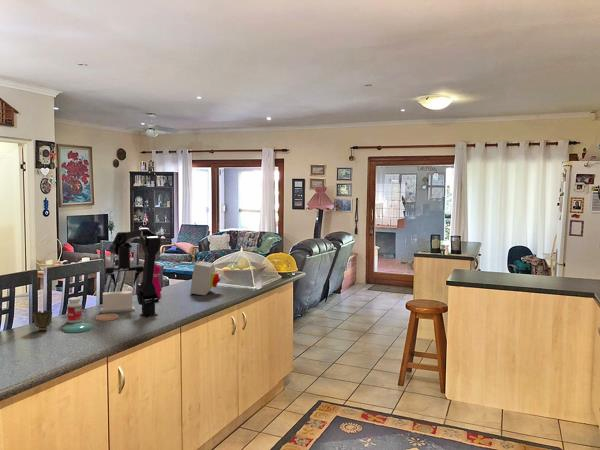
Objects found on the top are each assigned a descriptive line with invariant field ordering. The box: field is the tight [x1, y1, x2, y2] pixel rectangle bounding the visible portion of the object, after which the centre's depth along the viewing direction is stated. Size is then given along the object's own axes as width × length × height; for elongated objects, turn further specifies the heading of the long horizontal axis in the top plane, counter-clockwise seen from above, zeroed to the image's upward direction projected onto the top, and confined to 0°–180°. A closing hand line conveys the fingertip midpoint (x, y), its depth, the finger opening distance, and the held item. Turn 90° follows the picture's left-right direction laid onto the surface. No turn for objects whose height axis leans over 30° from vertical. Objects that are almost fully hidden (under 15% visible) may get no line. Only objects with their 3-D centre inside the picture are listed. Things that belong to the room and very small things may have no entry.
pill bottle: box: [66, 296, 83, 324], centre depth 227 cm, size 6×6×11 cm
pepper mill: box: [153, 261, 163, 298], centre depth 282 cm, size 7×7×20 cm
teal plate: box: [62, 322, 94, 334], centre depth 216 cm, size 12×12×1 cm
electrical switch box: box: [189, 260, 221, 296], centre depth 294 cm, size 15×15×20 cm
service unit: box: [100, 290, 136, 314], centre depth 249 cm, size 7×16×9 cm, turn 110°
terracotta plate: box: [95, 313, 120, 322], centre depth 234 cm, size 10×10×1 cm
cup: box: [32, 309, 53, 332], centre depth 212 cm, size 8×7×8 cm
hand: (124, 285), depth 254 cm, fingers open, 9 cm apart
